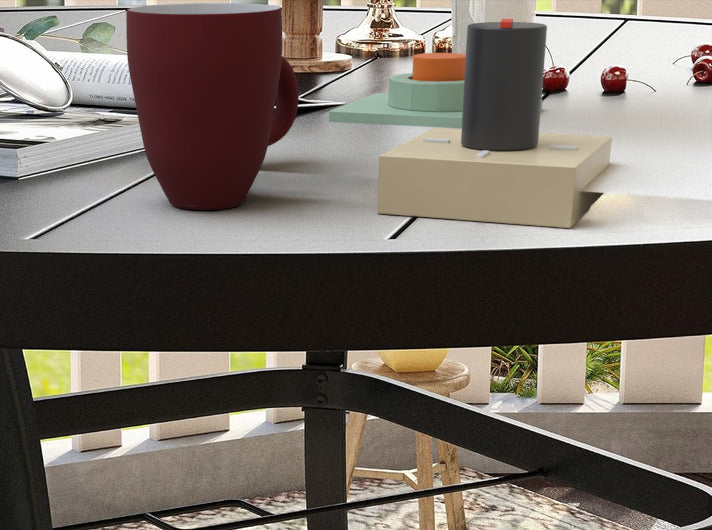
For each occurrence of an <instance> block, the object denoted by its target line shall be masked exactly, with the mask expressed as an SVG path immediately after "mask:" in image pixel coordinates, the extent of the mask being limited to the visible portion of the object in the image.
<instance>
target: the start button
mask: <svg viewBox="0 0 712 530" xmlns="http://www.w3.org/2000/svg"><path fill="white" fill-rule="evenodd" d="M465 61H466V54H464V53H455V52H427V53H425V52H424V53H416V54H413V55H412V72H411V73H412V80H419V81H461V80H464V78H465Z"/></svg>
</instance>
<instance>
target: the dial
mask: <svg viewBox="0 0 712 530" xmlns="http://www.w3.org/2000/svg"><path fill="white" fill-rule="evenodd" d="M547 31H548V26H547V24H544V23H539V22H529V21H528V22H527V21H526V22H525V21H514V19H513V18H502V19H501V21H488V22H476V23H470V24H468V25H467V27H466V45H465V55H466V61H465V78H464V96H463V114H462V128H461V129H462V132H461V144H462V145H463V146H465V147H469V148H473V149H481V150H496V151H510V150H524V149H530V148H533V147H536V146H537V145H538V138H539V133H540V124H541V113H542V112H541V111H542V110H541V100H543V99H542V97H543V96H542V95H543V87H544V86H543V85H544V72H545V59H546V48H547V47H546V46H547V33H548V32H547Z"/></svg>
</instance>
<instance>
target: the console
mask: <svg viewBox="0 0 712 530" xmlns="http://www.w3.org/2000/svg"><path fill="white" fill-rule="evenodd" d="M461 132H462V128H446V127H432V128H431V129H429V130H427V131H425V132H423V133H421V134H419V135H417V136H415V137H413V138H411V139H410V140H407V141H405V142H403V143H401V144H399V145H398V146H395V147H393V148H392V149H389V150H388V151H386V152H383V153H382V154H379V156H378V178H377V179H378V180H377V181H378V184H377V185H378V186H377V210H376V212H377V214H378V215H392V216H403V217H404V216H405V217H416V218H418V217H419V218H429V219H442V220H443V219H444V220H456V221H471V222H483V223H497V224H510V225H522V226H534V227H536V226H537V227H546V228H547V227H550V228H562V229H572V227H573V226H574V225H575V224H576V223H577V222H578V221H579V220H580V219H581V218H582V217H583V216H584V215H585V214H586V213H587V212H588V211H589V210H590V209H591V207H592V206H593V205H594V204H595V203H596V202H597V201H598V200H599V199H600V198H602V196H603V195H604V194H605V192H600V191H598V192H597V191H583V189H584V188H585V187H587V186H588V185H589V184H590V183H591V182H593V180H594V179H596V177H598V175H600V174H601V173H602V172H603V171H604V170H605V169H606V168H607V167H608V166H609V165H610V160H611V151H612V140H613V137H612V136H607V135H606V136H605V135H604V136H603V135H587V134H586V135H584V134H565V133H543V132H539V138H538V145H537V146H536V147H533V148H530V149H524V150H510V151H496V150H481V149H473V148H469V147H465V146H463V145H462V144H461Z"/></svg>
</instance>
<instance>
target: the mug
mask: <svg viewBox="0 0 712 530" xmlns="http://www.w3.org/2000/svg"><path fill="white" fill-rule="evenodd" d="M125 19H126V20H125V21H126V22H125V23H126V25H125V27H126V28H125V29H126V30H125V32H126V57H127V66H128V72H129V78H130V83H131V88H132V93H133V99H134V104H135V109H136V113H137V119H138V124H139V130H140V134H141V138H142V144H143V148H144V152H145V156H146V159H147V161H148V164H149V167H150V169H151V170H152V172H153V175H154V176H155V178H156V180H157V182H158V184H159V185H160V188H161V190H162V191H163V193H164V195H165V197H166V199H167V201H168V203H170V205H171V206H173V207H176V208H179V209H182V210H193V211H195V210H196V211H216V210H226V209H231V208H232V209H233V208H235V207H238V206H240V205H242V204H244V202H245V200H246V198H247V196H248V194H249V193H250V190H251V188H252V186H253V184H254V183H255V180H256V179H257V176H258V174H259V172H260V170H261V168H262V165H263V163H264V161H265V157H266V155H267V151H268V147H270V146H272V145H274V144H277V143H278V142H279V141H281V140H282V139H283V138H284V137H285V136H286V135H287V134H288V133H289V131H291V128H292V126H293V125H294V123H295V119H296V117H297V113H298V109H299V100H300V99H299V98H300V97H299V96H300V93H299V84H298V80H297V76H296V73H295V71H294V69H293V66H292V65H291V64H290V62H289V61H288V60H287V59H286V57H284V56H283V10H282V7H281V6H278V5H273V4H262V3H261V4H260V3H234V2H233V3H232V2H202V3H201V2H200V3H198V2H197V3H169V4H168V3H167V4H154V5H143V6H134V7H130V8H127V9H126V14H125Z"/></svg>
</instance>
